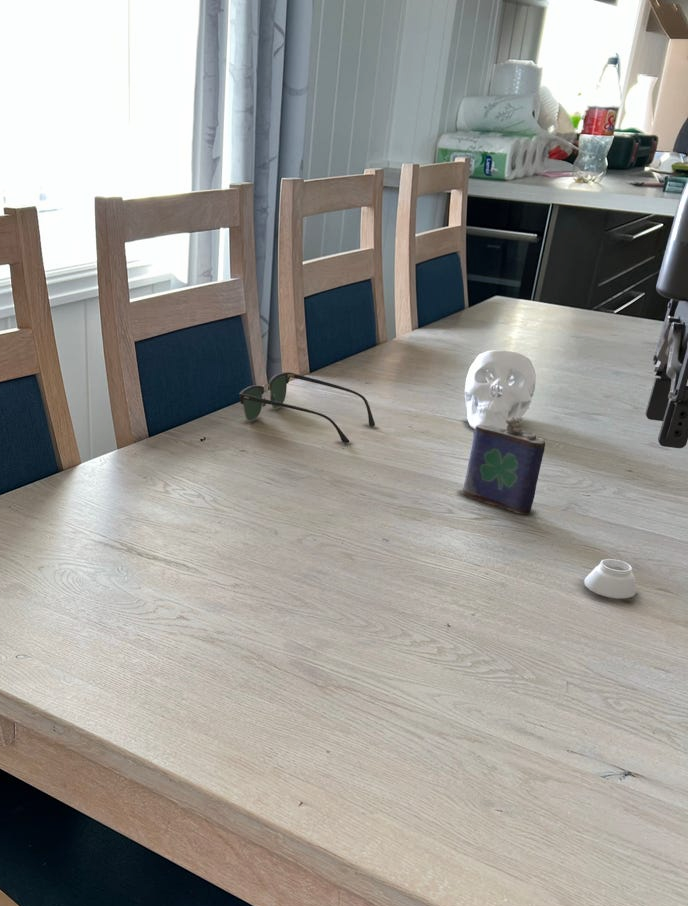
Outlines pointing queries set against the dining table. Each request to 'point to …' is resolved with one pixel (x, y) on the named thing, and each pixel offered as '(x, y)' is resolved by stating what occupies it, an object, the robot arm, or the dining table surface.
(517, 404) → the skull bowl
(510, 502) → the flask
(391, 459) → the dining table surface
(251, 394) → the sunglasses
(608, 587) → the small white bowl
